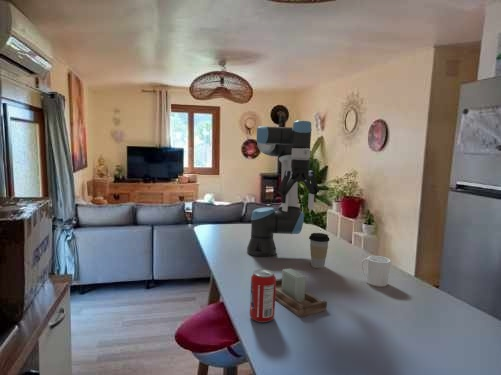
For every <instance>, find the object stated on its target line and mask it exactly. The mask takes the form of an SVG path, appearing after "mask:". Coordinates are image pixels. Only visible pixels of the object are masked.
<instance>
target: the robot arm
mask: <svg viewBox="0 0 501 375" xmlns="http://www.w3.org/2000/svg"><path fill="white" fill-rule="evenodd" d="M312 130H313V129H312V122H311V121H309V120H296V121H295V120H294V121H293V124H292V126H291V127H290V126H266V125H263V126H258V127H256V143H257V149H258V150H259V152H260V153H262V154H263V155H267V156H269V157H278V161H279V163H281V179H280V180H281V182H280V184H279V187H278V189H277V191H276V193H277V194H279V195H280V197H281V198H280V205H279V206H278V209H277V210H276V209H275V207H269V206H267V207H260V208H255V209H254V210H252V212H251V218H250V220H251V223H250V224H251V227H250V229H251V230H250V239H249V242H248V244H247V248H246V253H247V254H248V255H251V256H254V257H261V258H262V257H263V258H264V257H266V258H267V257H273V256H275V255H276V254H277V248H276V242H275V239H274V234H280V235H283V234H284V235H285V234H286V235H299V234H301V232H302V229H303V226H304V218H305V213H304V211H301V207H300V206H299V205H298V203H299V202H298V195H299V194H298V189H299V188H298V183H300V182H301V183H303V184H304V185H305V187H306V189H307V190H308V191H309V193H308V198H307V199H308V201H307V203H308V204H307V208H308V210H313V211H314V206H315V203H314V202H315V201H316V195H317V194H318V193H319V192H320V189H319V185H318V182H317V180H316V176H315V171H314V170H309V169H310V163H311V161H310V160H309V159H310V158H311V143H312V142H311V140H312V139H311V138H312Z"/></svg>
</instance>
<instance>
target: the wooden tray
mask: <svg viewBox="0 0 501 375" xmlns="http://www.w3.org/2000/svg"><path fill="white" fill-rule="evenodd" d="M281 290H282V277H281V278H276V292H275V302H277V303H279V304H280V305H282V306H283V307H284V308H286V309H288V310H289V311H291V312H292V313H293V314H295V315H296V316H298V317H299V318H303V317H306V316H307V317H308V316H310V315H314V314H317V313H321V312H325V311H327V310H328V309H327V307H328V301H327V300H321V299H320V298H317V296H315V295H312V294H311V293H309V292H308V291H306V290H305V299H304V301H303V302H298V301H296V300H295V299H293V298H292V297H290V296H289V295H287V294H286V293H284V292H282V291H281Z"/></svg>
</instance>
